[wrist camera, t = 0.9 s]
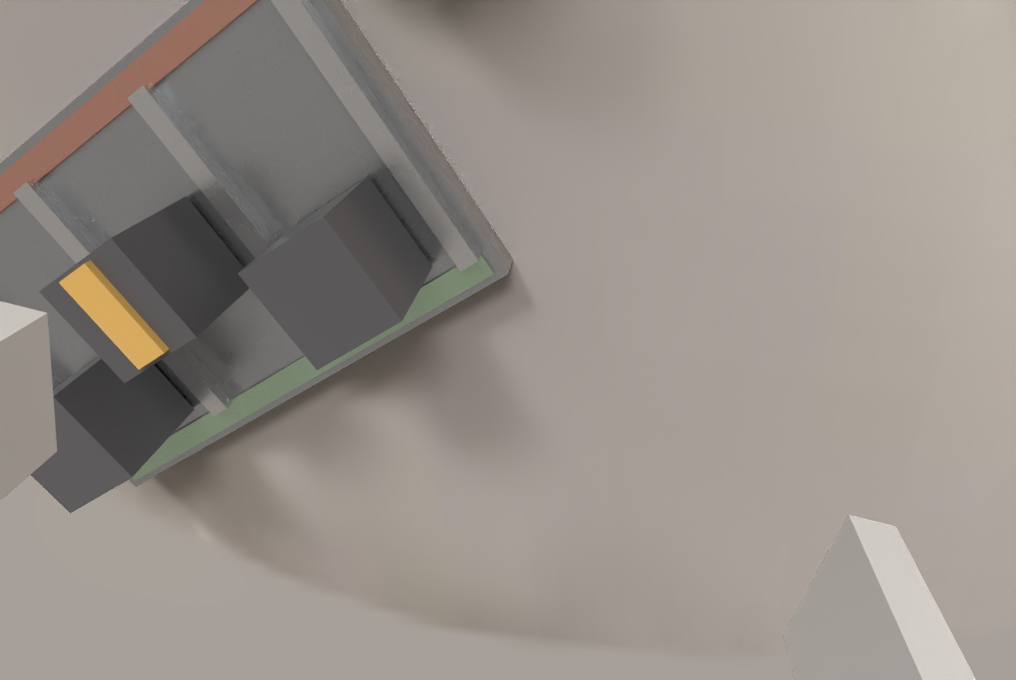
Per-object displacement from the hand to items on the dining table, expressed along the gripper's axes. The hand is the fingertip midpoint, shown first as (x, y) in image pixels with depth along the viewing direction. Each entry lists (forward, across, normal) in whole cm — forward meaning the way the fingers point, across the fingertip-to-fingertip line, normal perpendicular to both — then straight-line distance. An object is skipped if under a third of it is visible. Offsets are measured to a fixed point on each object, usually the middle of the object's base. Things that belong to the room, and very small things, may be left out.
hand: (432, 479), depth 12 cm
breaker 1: (+22, -15, -9) cm, 29 cm away
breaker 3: (+23, -7, -6) cm, 24 cm away
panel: (+25, -16, -9) cm, 31 cm away
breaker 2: (+22, -18, -17) cm, 34 cm away
